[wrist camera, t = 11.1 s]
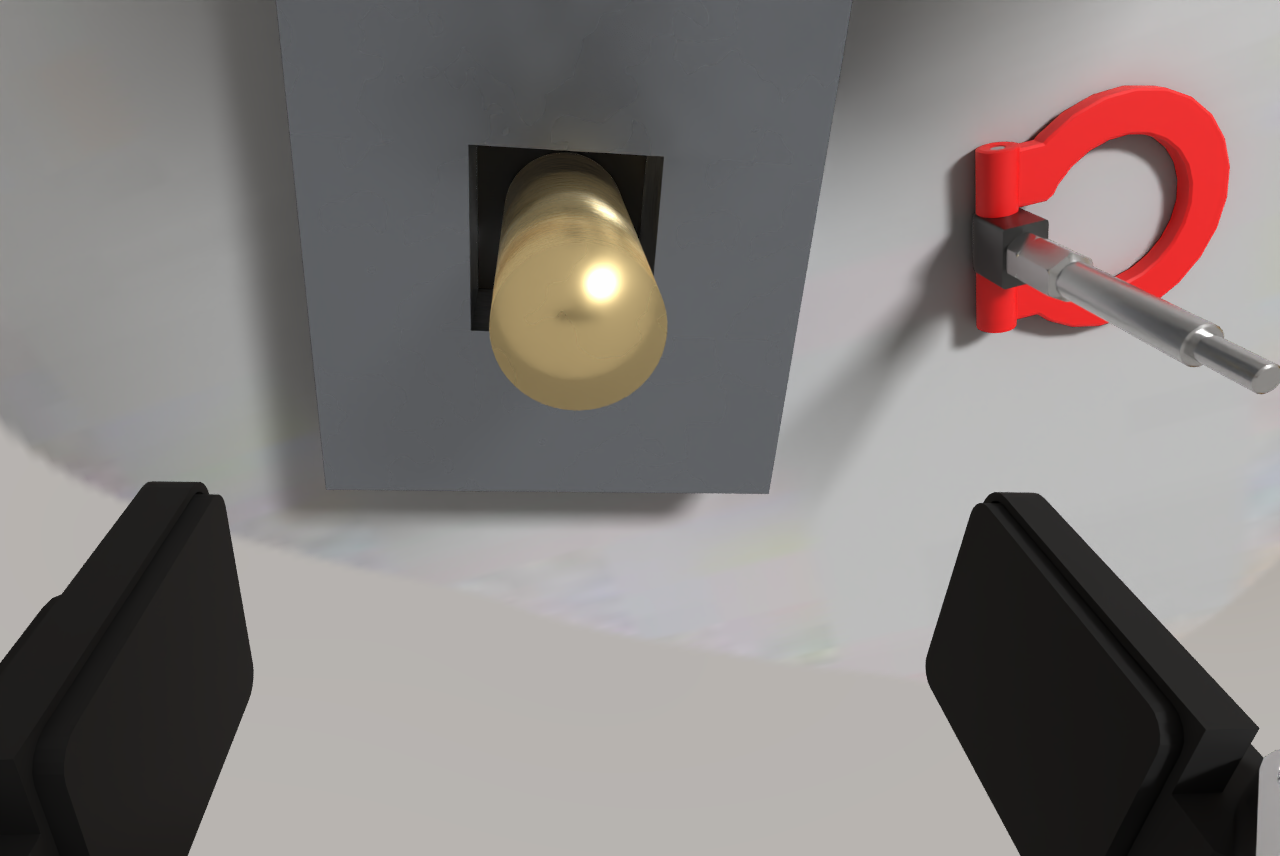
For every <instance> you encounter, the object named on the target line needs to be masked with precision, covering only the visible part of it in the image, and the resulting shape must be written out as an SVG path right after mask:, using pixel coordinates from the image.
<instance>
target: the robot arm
mask: <svg viewBox="0 0 1280 856" xmlns="http://www.w3.org/2000/svg"><path fill="white" fill-rule="evenodd" d="M926 676H927V680H928V683H929V685H930V688H931V690H932V691H933V693H934V695H935V697H936V699H937V701H938V703H939V705H940V706H941V708H942V710H943V712H944V714H945V716H946V718H947V719H948V721H949V723H950V725H951V727H952V729H953V731H954V732H955V734H956V736H957V738H958V740H959V742H960V743H961V745H962V747H963V749H964V751H965V753H966V755H967V757H968V759H969V760H970V762H971V764H972V766H973V768H974V770H975V772H976V774H977V775H978V777H979V779H980V781H981V783H982V785H983V787H984V788H985V790H986V792H987V794H988V796H989V798H990V800H991V801H992V803H993V805H994V807H995V809H996V811H997V813H998V814H999V816H1000V818H1001V820H1002V822H1003V824H1004V826H1005V828H1006V829H1007V831H1008V833H1009V835H1010V837H1011V839H1012V841H1013V843H1014V844H1015V846H1016V848H1017V850H1018V852H1019V854H1020V856H1280V749H1279V750H1275V751H1273V752H1271V753H1270V754H1268V755H1267V756H1265V757H1264V758H1263V757H1262V756H1261V755H1260V753H1259V752H1258V751H1257V750H1256V749H1255V748H1254V747H1253V746H1252V745H1251V742H1252V740H1253V739H1254V737H1255V735H1256V733H1257V732H1258V730H1259V727H1258V726H1257V725H1256V724H1255V723H1254V722H1253V721H1252V720H1251V719H1250V718H1249V717H1248V715H1247V714H1246V713H1245V712H1244V711H1243V710H1242V709H1241V708H1240V707H1239V706H1238V705H1237V704H1236V703H1235V702H1234V700H1233V699H1232V698H1231V697H1230V696H1229V695H1228V694H1227V693H1226V692H1225V691H1224V690H1223V689H1222V688H1221V687H1220V686H1219V684H1218V683H1217V682H1216V681H1215V680H1214V679H1213V678H1212V677H1211V676H1210V675H1209V674H1208V673H1207V672H1206V671H1205V670H1204V668H1203V667H1202V666H1201V665H1200V664H1199V663H1198V662H1197V661H1196V660H1195V659H1194V658H1193V657H1192V656H1191V655H1190V654H1189V653H1188V651H1187V650H1186V649H1185V648H1184V647H1183V646H1182V645H1181V644H1180V643H1179V642H1178V641H1177V640H1176V638H1175V637H1174V636H1173V635H1172V634H1171V633H1170V632H1169V631H1168V630H1167V629H1166V628H1165V627H1164V626H1163V625H1162V624H1161V622H1160V621H1159V620H1158V619H1157V618H1156V617H1155V616H1154V615H1153V614H1152V613H1151V612H1150V611H1149V610H1148V609H1147V608H1146V606H1145V605H1144V604H1143V603H1142V602H1141V601H1140V600H1139V599H1138V598H1137V597H1136V596H1135V595H1134V594H1133V593H1132V591H1131V590H1130V589H1129V588H1128V587H1127V586H1126V585H1125V584H1124V583H1123V582H1122V581H1121V580H1120V579H1119V578H1118V577H1117V575H1116V574H1115V573H1114V572H1113V571H1112V570H1111V569H1110V568H1109V567H1108V566H1107V565H1106V564H1105V563H1104V562H1103V561H1102V559H1101V558H1100V557H1099V556H1098V555H1097V554H1096V553H1095V552H1094V551H1093V550H1092V549H1091V548H1090V547H1089V546H1088V544H1087V543H1086V542H1085V541H1084V540H1083V539H1082V538H1081V537H1080V536H1079V535H1078V534H1077V533H1076V532H1075V531H1074V530H1073V528H1072V527H1071V526H1070V525H1069V524H1068V523H1067V522H1066V521H1065V520H1064V519H1063V518H1062V517H1061V516H1060V515H1059V513H1058V512H1057V511H1056V510H1055V509H1054V508H1053V507H1052V506H1051V505H1050V504H1049V503H1048V502H1047V501H1046V500H1045V499H1044V498H1043V497H1042V496H1041V495H1039V494H1037V493H1012V492H994V493H992V494H989V496H988V497H987V498H986V499H985V501H984V503H979V504H977V505H976V506H975V507H974V508H973V510H972V512H971V514H970V518H969V521H968V524H967V527H966V531H965V534H964V537H963V540H962V544H961V547H960V550H959V553H958V557H957V560H956V563H955V566H954V570H953V573H952V576H951V579H950V582H949V586H948V589H947V592H946V595H945V599H944V602H943V605H942V608H941V612H940V615H939V618H938V621H937V625H936V628H935V631H934V634H933V637H932V641H931V644H930V647H929V650H928V654H927V658H926ZM252 684H253V662H252V656H251V651H250V645H249V639H248V633H247V627H246V621H245V616H244V610H243V604H242V598H241V593H240V587H239V581H238V576H237V570H236V564H235V558H234V553H233V547H232V541H231V535H230V529H229V524H228V518H227V512H226V507H225V503H224V500H223V498H222V496H220V495H212V494H209V492H208V490H207V488H206V486H205V485H204V484H203V483H201V482H153V481H152V482H147V483H146V484H145V485H144V486H143V487H142V488H141V490H140V491H139V492H138V494H137V495H136V496H135V498H134V499H133V500H132V502H131V503H130V504H129V505H128V507H127V508H126V509H125V511H124V512H123V513H122V515H121V516H120V517H119V519H118V520H117V521H116V523H115V524H114V525H113V527H112V528H111V530H110V531H109V532H108V533H107V535H106V536H105V537H104V539H103V540H102V541H101V543H100V544H99V545H98V547H97V548H96V549H95V551H94V552H93V553H92V555H91V556H90V557H89V559H88V560H87V561H86V563H85V564H84V565H83V567H82V568H81V569H80V571H79V572H78V574H77V575H76V576H75V577H74V579H73V580H72V581H71V583H70V584H69V585H68V587H67V588H66V589H65V590H64V592H63V593H62V594H61V595H59V596H56V597H54V598H52V599H51V600H50V601H49V602H48V603H47V604H46V605H45V606H44V607H43V608H42V609H41V611H40V612H39V613H38V614H37V616H36V617H35V618H34V620H33V621H32V622H31V624H30V625H29V626H28V627H27V629H26V630H25V631H24V633H23V634H22V635H21V637H20V638H19V639H18V641H17V642H16V643H15V644H14V646H13V647H12V648H11V650H10V651H9V652H8V654H7V655H6V656H5V657H4V659H3V660H2V662H1V663H0V856H188V853H189V851H190V848H191V846H192V843H193V841H194V838H195V836H196V833H197V830H198V828H199V825H200V823H201V820H202V818H203V815H204V813H205V810H206V808H207V805H208V802H209V800H210V797H211V795H212V792H213V789H214V787H215V785H216V782H217V779H218V777H219V774H220V772H221V769H222V767H223V764H224V762H225V759H226V757H227V754H228V752H229V749H230V746H231V744H232V741H233V739H234V736H235V734H236V731H237V729H238V726H239V724H240V721H241V718H242V716H243V713H244V711H245V708H246V706H247V703H248V701H249V697H250V695H251V691H252V686H253V685H252Z"/></svg>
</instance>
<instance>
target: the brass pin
mask: <svg viewBox="0 0 1280 856" xmlns="http://www.w3.org/2000/svg"><path fill="white" fill-rule="evenodd" d="M489 332H490V341H491V346H492V350H493V353H494V355H495V358H496V361H497V362H498V364H499V366H500V368H501V370H502V371H503V373H504V374H505V375H506V377H507V378H508V379H509V380H510V381H511V382H512V384H513V385H514V386H515V387H517V388H518V389H519V390H520V391H521V392H523V393H524V394H526V395H527V396H529V397H530V398H532V399H534V400H536V401H538V402H540V403H542V404H545V405H548V406H551V407H554V408H559V409H564V410H590V409H597V408H601V407H604V406H608V405H610V404H613V403H615V402H618V401H620V400H622V399H623V398H625V397H627V396H629V395H630V394H631V393H633V392H634V391H635V390H637V389H638V388H639V387H640V386H641V385H642V384H643V383H644V382H645V381H646V380H647V379H648V378H649V376H650V375H651V374H652V373H653V371H654V369H655V368H656V366H657V365H658V363H659V360H660V358H661V356H662V354H663V350H664V347H665V344H666V338H667V314H666V309H665V305H664V301H663V299H662V296H661V294H660V291H659V289H658V286H657V284H656V281H655V279H654V276H653V274H652V271H651V269H650V266H649V264H648V261H647V259H646V256H645V254H644V251H643V249H642V246H641V244H640V241H639V239H638V236H637V234H636V231H635V229H634V226H633V224H632V221H631V219H630V216H629V214H628V212H627V209H626V207H625V204H624V202H623V199H622V197H621V194H620V192H619V189H618V187H617V185H616V183H615V181H614V180H613V178H612V177H611V176H610V174H609V173H608V172H607V171H606V170H605V169H604V168H603V167H602V166H600V165H599V164H598V163H597V162H595V161H593V160H591V159H590V158H587V157H585V156H582V155H579V154H575V153H568V152H558V153H551V154H547V155H544V156H541V157H539V158H537V159H535V160H533V161H531V162H530V163H528V164H527V165H526V166H525V167H523V168H522V169H521V170H520V172H519V173H518V174H517V175H516V176H515V178H514V179H513V181H512V183H511V185H510V187H509V189H508V192H507V195H506V199H505V205H504V213H503V220H502V228H501V236H500V243H499V251H498V259H497V266H496V274H495V281H494V289H493V297H492V304H491V312H490V322H489Z"/></svg>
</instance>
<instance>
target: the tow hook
mask: <svg viewBox="0 0 1280 856" xmlns="http://www.w3.org/2000/svg"><path fill="white" fill-rule="evenodd" d="M1128 134H1145V135H1148V136H1151V137H1153V138H1154V139H1155V140H1157V141H1158V142H1159V143H1160V144H1161V145H1163V146H1164V147H1165V148H1166V150H1167V152H1168V153H1169V155H1170V157H1171V158H1172V160H1173V162H1174V166H1175V170H1176V175H1177V196H1176V202H1175V205H1174V209H1173V212H1172V215H1171V219H1170V221H1169V222H1168V224H1167V226H1166V228H1165V230H1164V232H1163V234H1162V235H1161V237H1160V239H1159V240H1158V241H1157V242H1156V244H1155V245H1154V246H1153V247H1152V249H1151V250H1150V251H1149V252H1148V253H1147V255H1145V256H1144V257H1143V258H1142V259H1141V260H1140V261H1138V262H1137V263H1136V264H1135V265H1134V266H1132V267H1131V268H1130V269H1128V270H1126V271H1124V272H1123V273H1121V274H1119V275H1117V276H1112V275H1110V274H1108V273H1106V272H1104V271H1102V270H1100V269H1098V268H1096V267H1094V266H1093V262H1092V260H1091V259H1090V258H1088V257H1086V256H1084V255H1082V254H1079V253H1077V252H1075V251H1073V250H1071V249H1069V248H1067V247H1064V246H1062V245H1060V244H1057V243H1056V242H1054V241H1051V240H1049V239H1048V226H1049V223H1048V220H1046V219H1044V218H1041V217H1039V216H1037V215H1034V214H1032V213H1030V212H1028V211H1025V210H1023V209H1021V208H1019V207H1023V206H1027V205H1031V204H1035V203H1039V202H1043V201H1047V200H1048V199H1049V198H1050V197H1051V196H1052V195H1053V194H1054V192H1055V190H1056V188H1057V186H1058V184H1059V183H1060V182H1061V180H1062V179H1063V178H1064V176H1065V175H1066V174H1067V172H1068V171H1069V170H1070V168H1071V167H1072V166H1073V165H1074V164H1075V163H1077V162H1078V161H1079V160H1080V159H1081V158H1082V157H1083V156H1084V155H1086V154H1087V153H1088V152H1089V151H1091V150H1092V149H1094V148H1096V147H1098V146H1099V145H1101V144H1103V143H1105V142H1106V141H1108V140H1111V139H1114V138H1118V137H1121V136H1125V135H1128ZM1229 169H1230V165H1229V159H1228V154H1227V148H1226V142H1225V138H1224V136H1223V134H1222V132H1221V130H1220V128H1219V127H1218V125H1217V123H1216V121H1215V119H1214V117H1213V115H1212V114H1211V113H1210V112H1209V111H1208V110H1206V109H1205V108H1204V107H1203V106H1202V105H1201V104H1199V103H1198V102H1197V101H1196V100H1195V99H1194V98H1192V97H1191V96H1188V95H1185V94H1182V93H1179V92H1176V91H1174V90H1171V89H1168V88H1164V87H1158V86H1121V87H1117V88H1114V89H1110V90H1107V91H1103V92H1100V93H1096V94H1093V95H1091V96H1089V97H1088V98H1086V99H1084V100H1082V101H1081V102H1079V103H1077V104H1076V105H1074V106H1072V107H1070V108H1069V109H1067V110H1065V111H1063V112H1062V113H1061V114H1060V115H1059V116H1058V117H1057V118H1055V119H1054V120H1053V121H1052V122H1051V123H1050V124H1049V125H1048V126H1047V127H1046V128H1044V129H1043V130H1042V131H1041V132H1040V133H1039V134H1038V135H1037V136H1036V137H1035V138H1034V140H1031V141H1027V142H1023V143H1019V144H1018V143H1015V142H995V143H989V144H986V145H982V146H980V147H978V148H976V150H975V180H976V212H975V213H974V215H973V269H974V271H975V272H976V326H977V328H978V329H979V330H981V331H983V332H988V333H1001V332H1007V331H1010V330H1012V329H1014V328H1015V327H1016V325H1017V319H1020V318H1024V317H1028V316H1032V315H1036V314H1038V315H1040V316H1041V317H1043V318H1044V319H1046V320H1048V321H1051V322H1055V323H1059V324H1063V325H1067V326H1071V327H1083V326H1101V325H1104V324H1107V323H1111V324H1113V325H1114V326H1116V327H1118V328H1120V329H1122V330H1123V331H1125V332H1127V333H1129V334H1131V335H1132V336H1134V337H1136V338H1138V339H1140V340H1141V341H1143V342H1145V343H1147V344H1149V345H1150V346H1152V347H1154V348H1156V349H1158V350H1159V351H1161V352H1163V353H1165V354H1167V355H1169V356H1170V357H1172V358H1174V359H1176V360H1178V361H1179V362H1181V363H1183V364H1185V365H1187V366H1189V367H1199V366H1202V365H1205V366H1207V367H1208V368H1210V369H1212V370H1214V371H1216V372H1218V373H1220V374H1221V375H1223V376H1225V377H1227V378H1229V379H1231V380H1232V381H1234V382H1236V383H1238V384H1240V385H1242V386H1244V387H1245V388H1247V389H1249V390H1251V391H1253V392H1255V393H1257V394H1265V393H1268V392H1270V391H1272V390H1273V389H1275V388H1276V387H1277V386H1278V384H1279V383H1280V366H1279V365H1277V364H1275V363H1273V362H1271V361H1269V360H1267V359H1265V358H1263V357H1261V356H1259V355H1257V354H1255V353H1253V352H1251V351H1249V350H1247V349H1245V348H1243V347H1240V346H1238V345H1236V344H1234V343H1232V342H1230V341H1228V340H1226V339H1224V333H1223V330H1222V329H1221V328H1220V327H1219V326H1217V325H1216V324H1213V323H1211V322H1209V321H1207V320H1205V319H1203V318H1201V317H1199V316H1197V315H1195V314H1192V313H1190V312H1188V311H1186V310H1184V309H1182V308H1180V307H1178V306H1176V305H1173V304H1171V303H1169V302H1167V301H1165V300H1163V299H1161V297H1162V296H1163V295H1164V294H1166V293H1167V292H1168V291H1169V290H1170V289H1172V288H1173V287H1174V286H1175V285H1176V284H1178V283H1179V282H1180V281H1181V279H1182V278H1183V277H1184V276H1185V275H1186V273H1187V272H1188V271H1189V270H1190V269H1191V268H1192V266H1193V265H1194V264H1195V263H1196V262H1197V260H1198V259H1199V258H1200V257H1201V255H1202V253H1203V252H1204V250H1205V248H1206V246H1207V244H1208V243H1209V241H1210V239H1211V237H1212V236H1213V234H1214V232H1215V230H1216V228H1217V226H1218V223H1219V220H1220V217H1221V214H1222V211H1223V208H1224V205H1225V201H1226V198H1227V191H1228V180H1229Z"/></svg>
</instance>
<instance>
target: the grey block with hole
mask: <svg viewBox="0 0 1280 856" xmlns="http://www.w3.org/2000/svg"><path fill="white" fill-rule="evenodd" d="M851 6H852V0H276V7H277V17H278V26H279V36H280V46H281V55H282V65H283V75H284V85H285V94H286V104H287V114H288V123H289V133H290V143H291V153H292V162H293V172H294V182H295V192H296V201H297V211H298V221H299V230H300V240H301V250H302V260H303V269H304V279H305V289H306V299H307V308H308V318H309V328H310V337H311V347H312V357H313V367H314V376H315V386H316V396H317V406H318V415H319V425H320V435H321V444H322V454H323V464H324V474H325V483H326V490H426V491H531V492H635V493H740V494H769V489H770V483H771V477H772V471H773V465H774V460H775V454H776V448H777V442H778V436H779V430H780V424H781V418H782V412H783V407H784V401H785V395H786V389H787V383H788V377H789V371H790V365H791V360H792V354H793V348H794V342H795V336H796V330H797V324H798V318H799V312H800V307H801V301H802V295H803V289H804V283H805V277H806V271H807V265H808V259H809V254H810V248H811V242H812V236H813V230H814V224H815V218H816V212H817V206H818V201H819V195H820V189H821V183H822V177H823V171H824V165H825V159H826V154H827V148H828V142H829V136H830V130H831V124H832V118H833V112H834V106H835V101H836V95H837V89H838V83H839V77H840V71H841V65H842V59H843V53H844V48H845V42H846V36H847V30H848V24H849V18H850V12H851ZM477 145H484V146H500V147H517V148H533V149H549V150H566V151H582V152H599V153H615V154H631V155H646V166H645V179H644V192H643V204H642V217H641V230H640V244H641V246H642V249H643V251H644V254H645V256H646V259H647V261H648V264H649V266H650V269H651V271H652V274H653V276H654V279H655V281H656V284H657V286H658V289H659V291H660V294H661V296H662V299H663V301H664V305H665V309H666V314H667V338H666V344H665V347H664V350H663V354H662V356H661V358H660V360H659V363H658V365H657V366H656V368H655V369H654V371H653V373H652V374H651V375H650V376H649V378H648V379H647V380H646V381H645V382H644V383H643V384H642V385H641V386H640V387H639V388H638V389H637V390H635V391H634V392H633V393H631V394H630V395H629V396H627V397H625V398H623V399H622V400H620V401H618V402H615V403H613V404H610V405H608V406H604V407H601V408H597V409H590V410H564V409H559V408H554V407H551V406H548V405H545V404H542V403H540V402H538V401H536V400H534V399H532V398H530V397H529V396H527V395H526V394H524V393H523V392H521V391H520V390H519V389H518V388H517V387H515V386H514V385H513V384H512V382H511V381H510V380H509V379H508V378H507V377H506V375H505V374H504V373H503V371H502V370H501V368H500V366H499V364H498V362H497V361H496V358H495V355H494V353H493V350H492V346H491V341H490V332H489V322H490V312H491V304H492V297H493V289H478V201H477Z"/></svg>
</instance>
